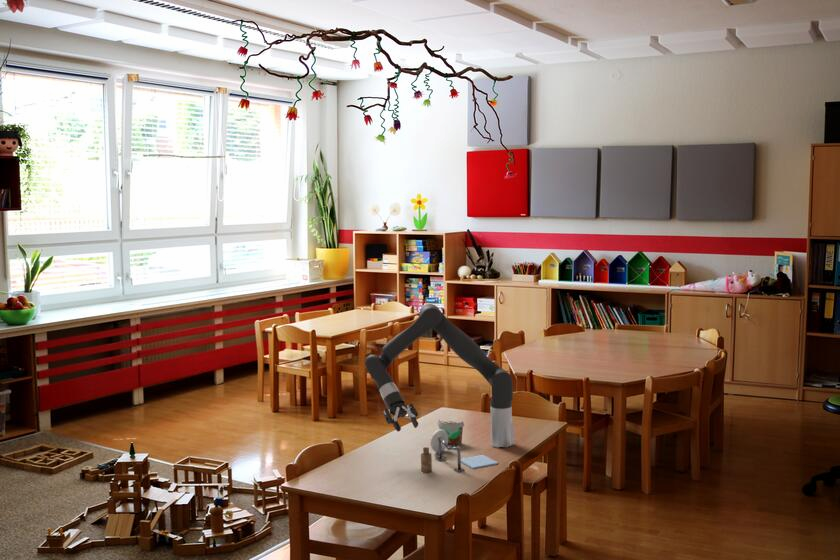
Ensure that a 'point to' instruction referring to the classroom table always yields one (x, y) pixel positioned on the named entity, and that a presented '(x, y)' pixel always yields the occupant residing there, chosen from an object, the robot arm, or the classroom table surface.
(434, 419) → the classroom table surface
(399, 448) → the classroom table surface
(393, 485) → the classroom table surface
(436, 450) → the grey wheel
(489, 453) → the classroom table surface
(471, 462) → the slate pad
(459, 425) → the food container
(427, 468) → the brown bottle
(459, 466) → the grey stand
